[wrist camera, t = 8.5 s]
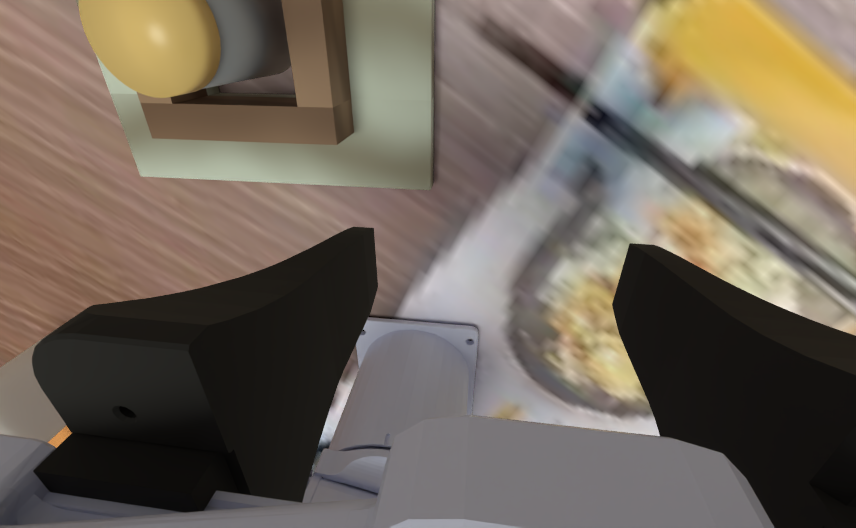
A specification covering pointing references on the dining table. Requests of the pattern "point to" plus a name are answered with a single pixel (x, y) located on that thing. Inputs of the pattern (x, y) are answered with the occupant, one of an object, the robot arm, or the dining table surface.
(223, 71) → the yellow capped shaker
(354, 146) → the holder
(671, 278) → the robot arm
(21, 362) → the eye dropper bottle
